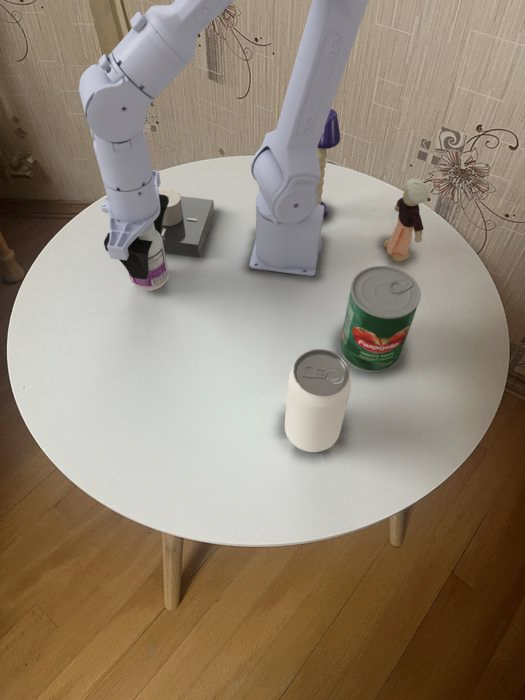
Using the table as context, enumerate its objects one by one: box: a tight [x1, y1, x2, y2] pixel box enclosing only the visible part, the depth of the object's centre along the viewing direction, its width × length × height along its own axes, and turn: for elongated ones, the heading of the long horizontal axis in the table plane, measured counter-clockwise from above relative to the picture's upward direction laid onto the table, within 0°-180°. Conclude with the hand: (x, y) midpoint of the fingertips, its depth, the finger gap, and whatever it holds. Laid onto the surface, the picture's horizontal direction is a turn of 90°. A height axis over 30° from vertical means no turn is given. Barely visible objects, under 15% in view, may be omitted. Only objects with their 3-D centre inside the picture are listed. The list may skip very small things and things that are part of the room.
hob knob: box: [158, 188, 183, 226], centre depth 82 cm, size 4×4×4 cm
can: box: [284, 348, 352, 453], centre depth 61 cm, size 6×6×12 cm
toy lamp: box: [317, 108, 341, 220], centre depth 82 cm, size 5×5×17 cm
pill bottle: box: [127, 222, 170, 292], centre depth 75 cm, size 5×5×10 cm
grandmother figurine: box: [383, 178, 430, 263], centre depth 78 cm, size 8×4×13 cm, turn 27°
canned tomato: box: [339, 265, 422, 374], centre depth 69 cm, size 8×8×11 cm
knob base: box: [161, 195, 215, 258], centre depth 85 cm, size 11×10×3 cm
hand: (146, 260), depth 76 cm, fingers closed on pill bottle, 5 cm apart
